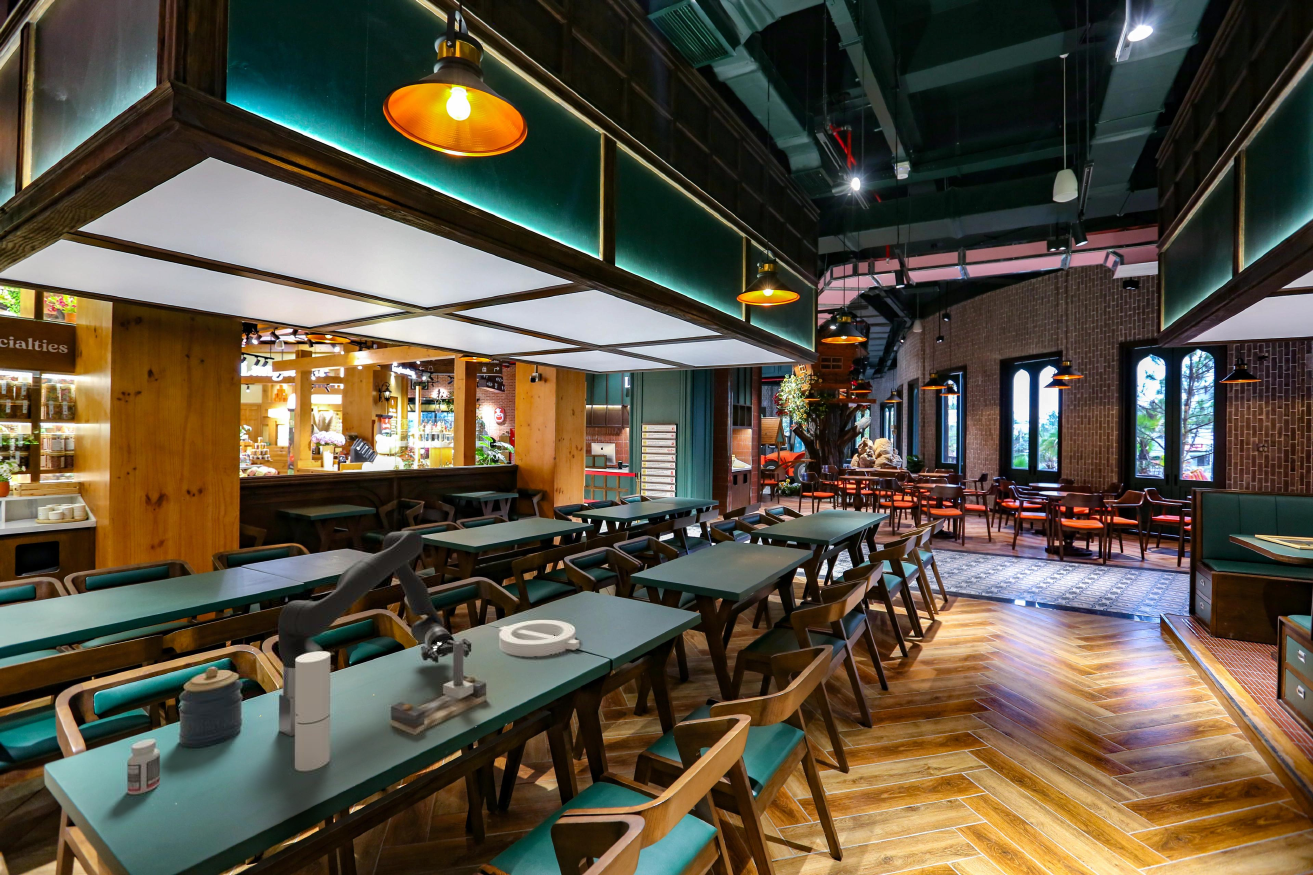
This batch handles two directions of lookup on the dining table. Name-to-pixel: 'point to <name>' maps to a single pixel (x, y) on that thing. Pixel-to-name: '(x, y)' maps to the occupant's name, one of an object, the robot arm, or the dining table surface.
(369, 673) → the dining table surface
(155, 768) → the pill bottle
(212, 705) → the canister
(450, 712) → the rail
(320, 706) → the cylindrical container
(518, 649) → the white circle with bar
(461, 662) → the carriage
